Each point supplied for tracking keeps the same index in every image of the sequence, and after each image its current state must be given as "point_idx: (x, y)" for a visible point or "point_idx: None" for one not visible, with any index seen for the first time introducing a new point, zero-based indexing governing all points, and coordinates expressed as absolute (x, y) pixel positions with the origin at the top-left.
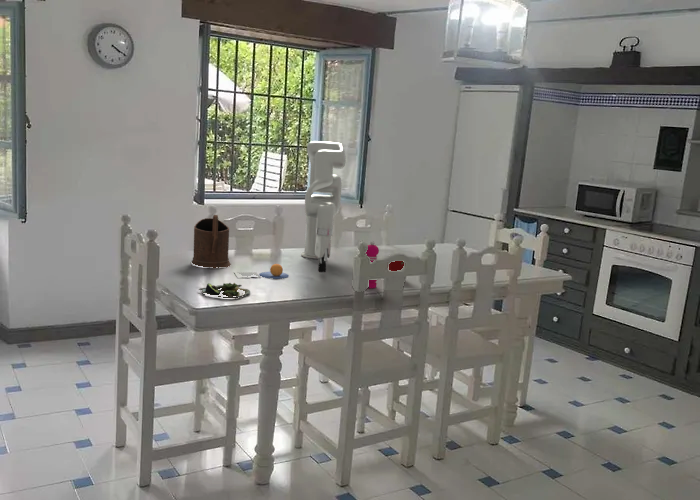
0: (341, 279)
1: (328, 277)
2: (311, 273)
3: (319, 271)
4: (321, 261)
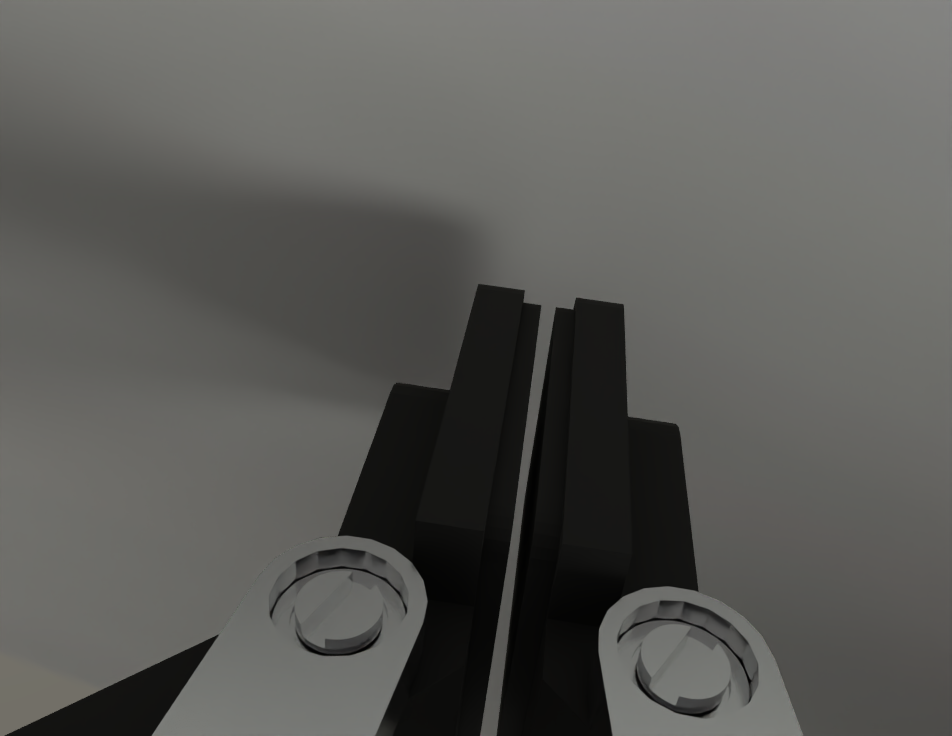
0: (20, 579)
1: (208, 392)
2: (880, 61)
3: (476, 302)
4: (215, 685)
